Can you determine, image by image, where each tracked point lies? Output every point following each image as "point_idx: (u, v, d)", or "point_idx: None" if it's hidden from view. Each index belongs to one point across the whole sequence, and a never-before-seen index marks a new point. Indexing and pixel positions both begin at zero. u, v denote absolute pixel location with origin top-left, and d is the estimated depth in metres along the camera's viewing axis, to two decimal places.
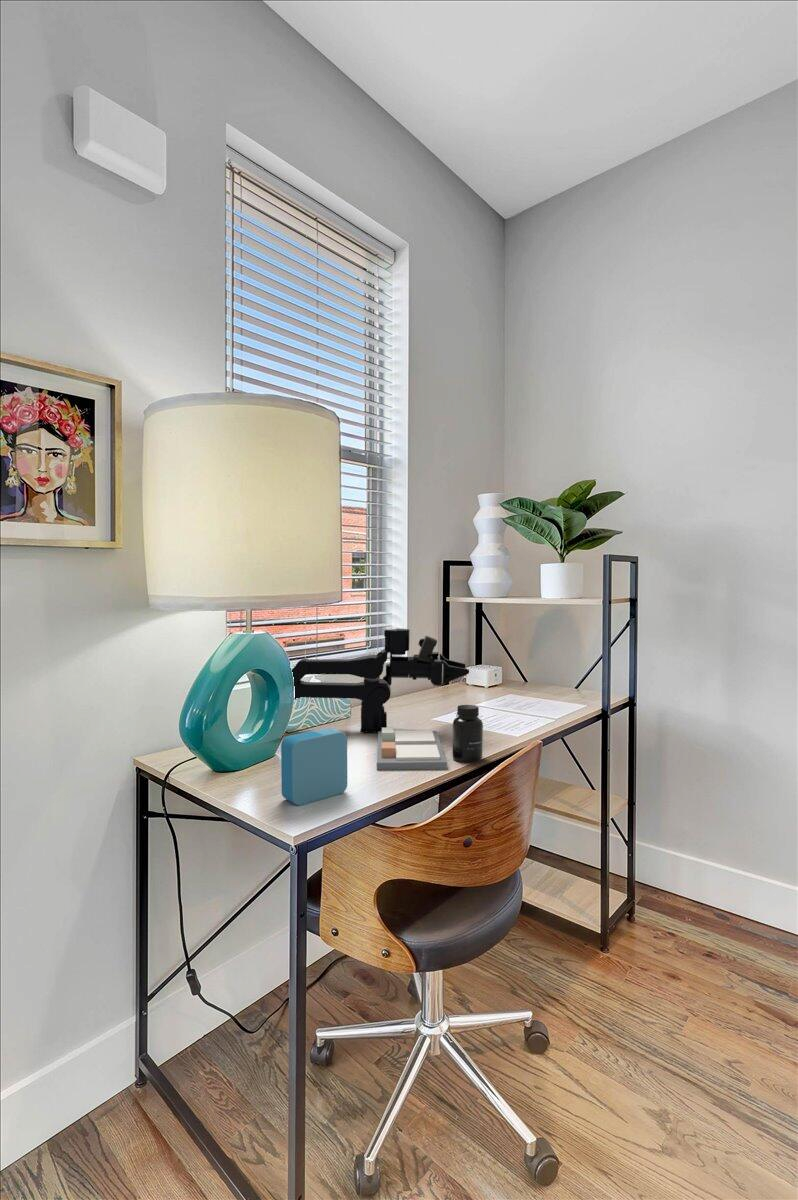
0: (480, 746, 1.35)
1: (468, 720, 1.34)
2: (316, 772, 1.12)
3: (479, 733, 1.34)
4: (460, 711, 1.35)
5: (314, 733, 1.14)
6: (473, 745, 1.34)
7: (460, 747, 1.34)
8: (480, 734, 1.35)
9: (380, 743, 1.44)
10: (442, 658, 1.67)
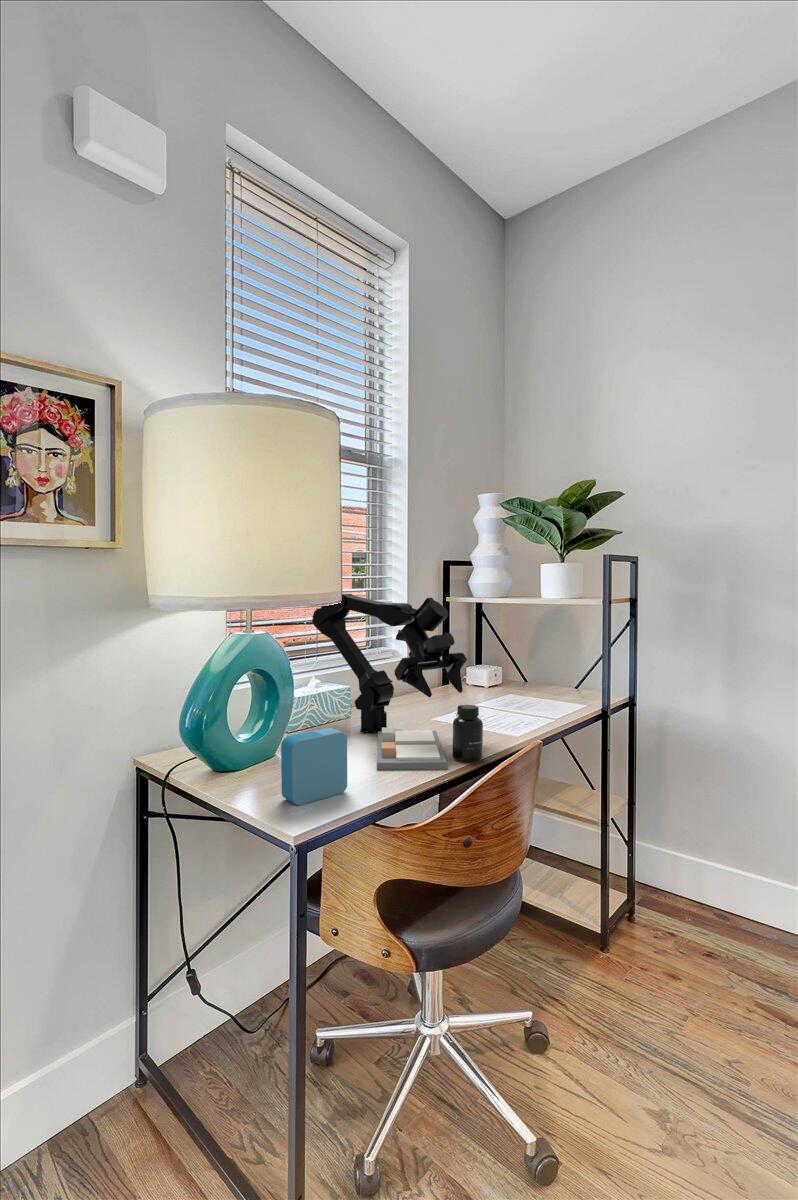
0: (480, 746, 1.35)
1: (468, 720, 1.34)
2: (316, 772, 1.12)
3: (479, 733, 1.34)
4: (460, 711, 1.35)
5: (314, 733, 1.14)
6: (473, 745, 1.34)
7: (460, 747, 1.34)
8: (480, 734, 1.35)
9: (380, 743, 1.44)
10: (454, 666, 1.48)
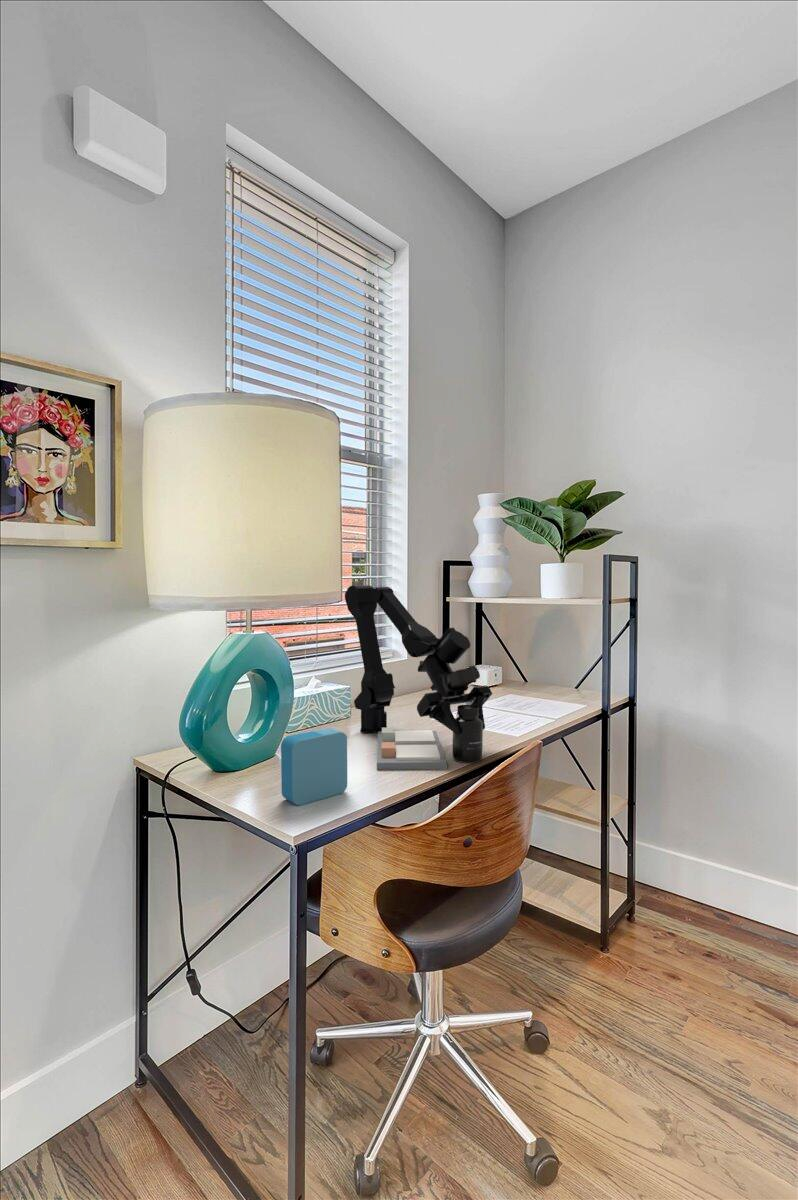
0: (480, 746, 1.35)
1: (468, 720, 1.34)
2: (316, 772, 1.12)
3: (479, 733, 1.34)
4: (460, 711, 1.35)
5: (314, 733, 1.14)
6: (473, 744, 1.34)
7: (460, 747, 1.34)
8: (480, 734, 1.35)
9: (380, 743, 1.44)
10: (476, 701, 1.40)
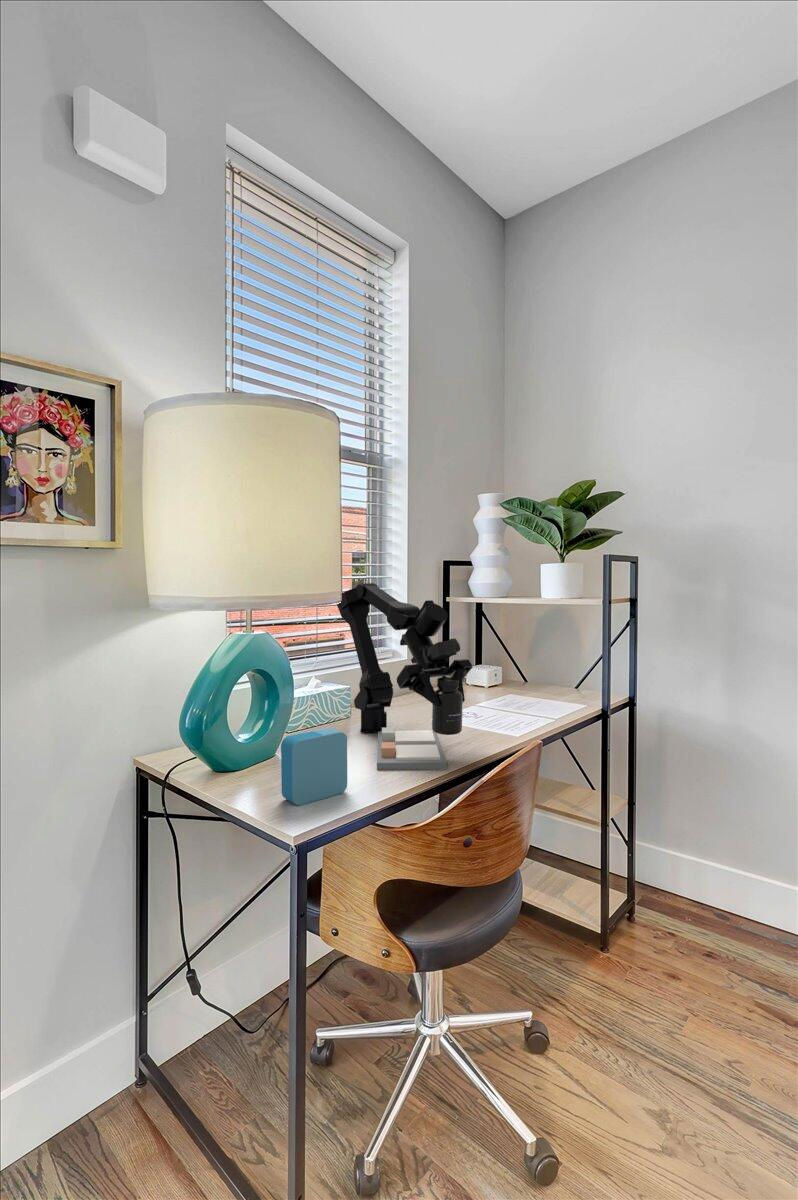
0: (460, 718, 1.35)
1: (448, 692, 1.34)
2: (316, 772, 1.12)
3: (458, 705, 1.34)
4: (440, 683, 1.35)
5: (314, 733, 1.14)
6: (452, 717, 1.33)
7: (439, 719, 1.34)
8: (460, 706, 1.34)
9: (380, 743, 1.44)
10: (456, 674, 1.40)
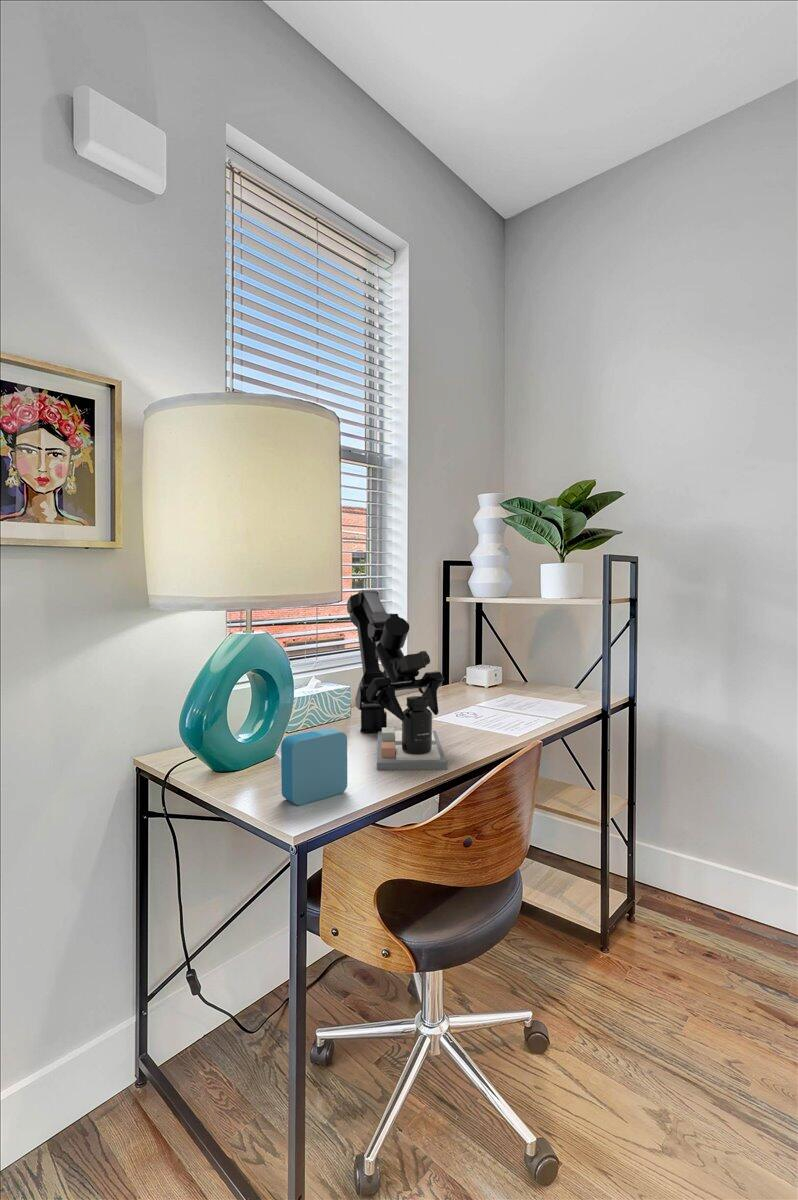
0: (429, 737, 1.34)
1: (416, 711, 1.34)
2: (316, 772, 1.12)
3: (427, 724, 1.34)
4: (409, 702, 1.35)
5: (314, 733, 1.14)
6: (421, 736, 1.33)
7: (408, 738, 1.33)
8: (429, 725, 1.34)
9: (380, 743, 1.44)
10: (430, 686, 1.40)
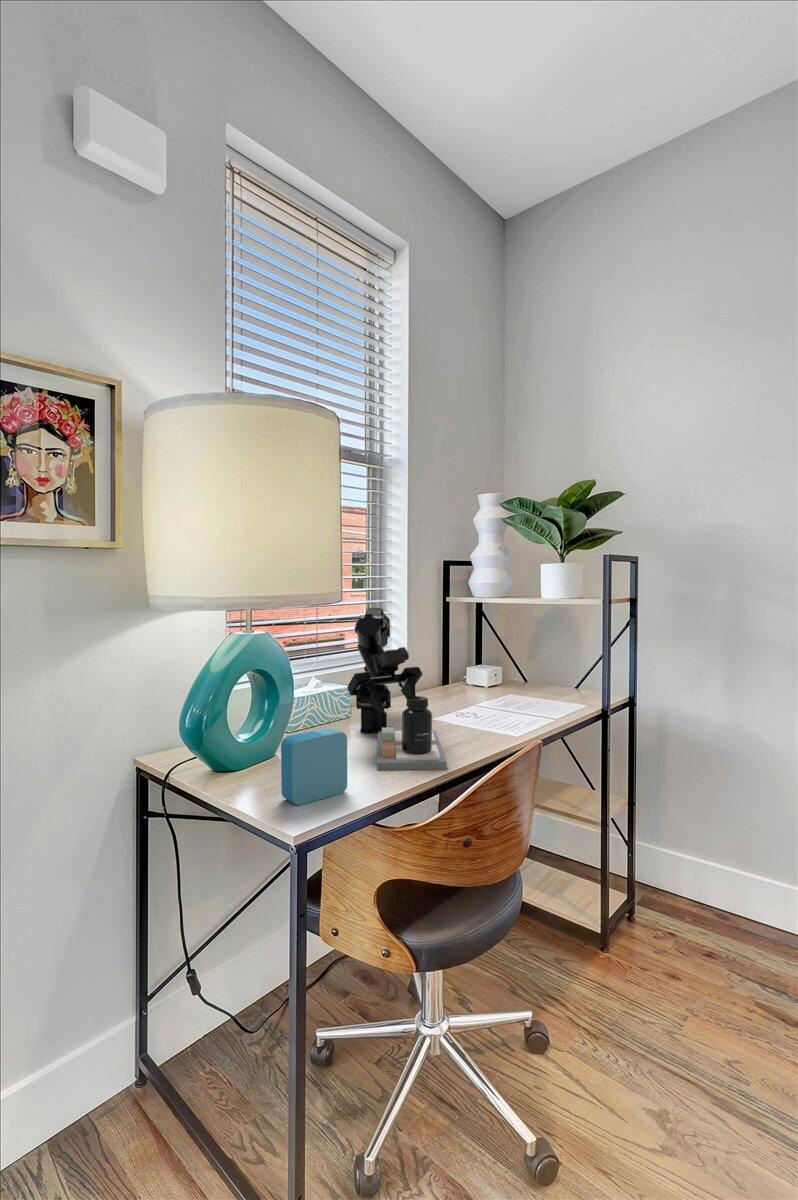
0: (429, 737, 1.34)
1: (416, 711, 1.34)
2: (316, 772, 1.12)
3: (427, 724, 1.34)
4: (409, 702, 1.35)
5: (314, 733, 1.14)
6: (421, 736, 1.33)
7: (408, 738, 1.33)
8: (429, 725, 1.34)
9: (380, 743, 1.44)
10: (409, 680, 1.47)
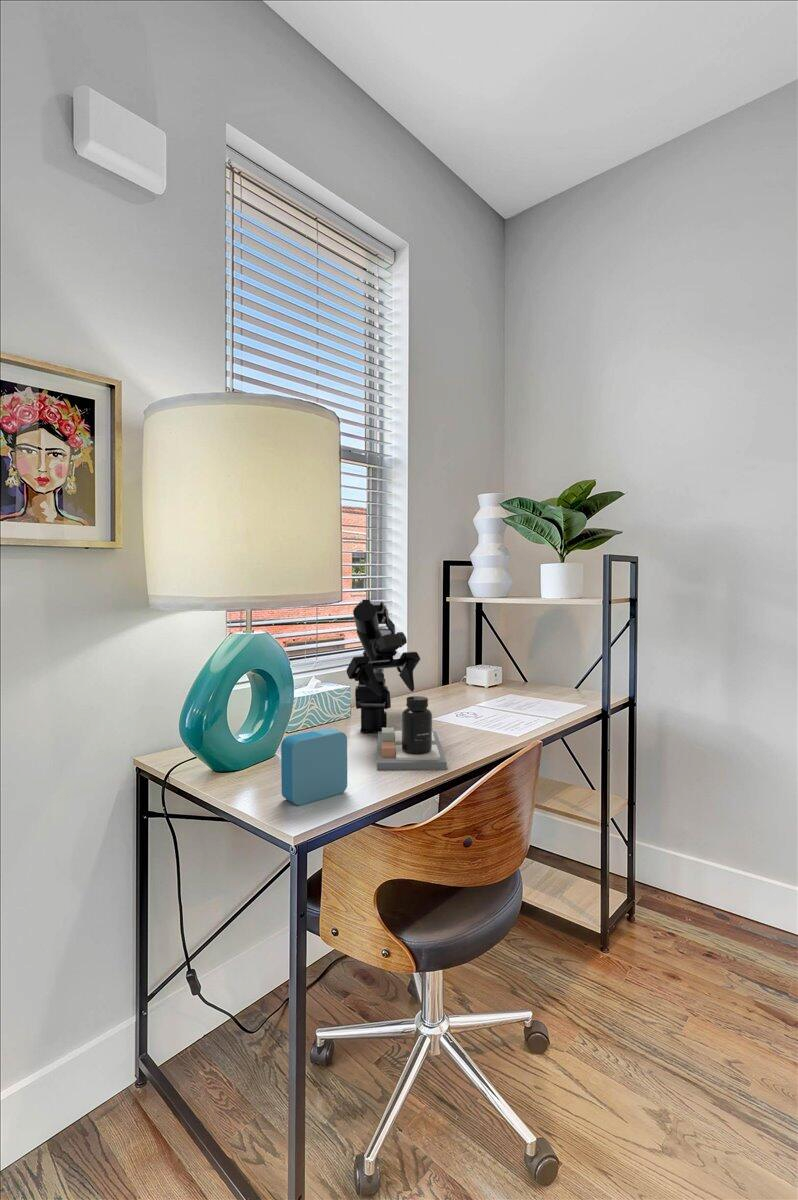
0: (429, 737, 1.34)
1: (416, 711, 1.34)
2: (316, 772, 1.12)
3: (427, 724, 1.34)
4: (409, 702, 1.35)
5: (314, 733, 1.14)
6: (421, 736, 1.33)
7: (408, 738, 1.33)
8: (428, 725, 1.34)
9: (380, 743, 1.44)
10: (407, 665, 1.50)
